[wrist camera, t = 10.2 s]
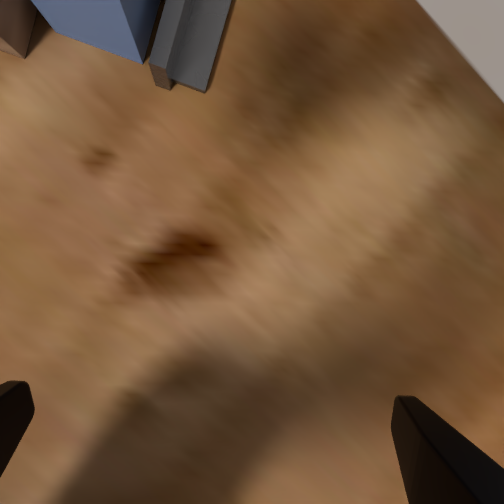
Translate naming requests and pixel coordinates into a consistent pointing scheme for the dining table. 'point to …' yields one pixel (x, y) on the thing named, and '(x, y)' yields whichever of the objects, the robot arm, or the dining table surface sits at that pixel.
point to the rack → (16, 25)
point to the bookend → (187, 42)
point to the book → (104, 23)
